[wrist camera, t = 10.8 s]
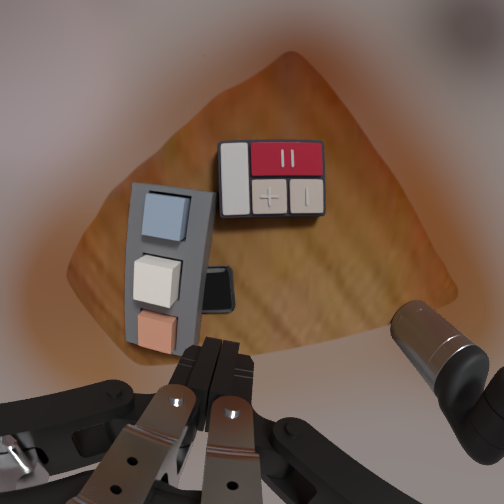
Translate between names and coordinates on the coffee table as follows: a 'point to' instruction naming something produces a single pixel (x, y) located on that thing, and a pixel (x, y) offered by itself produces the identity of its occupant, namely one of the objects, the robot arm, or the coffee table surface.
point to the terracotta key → (157, 331)
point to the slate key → (166, 216)
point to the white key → (156, 280)
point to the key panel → (186, 251)
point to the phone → (218, 290)
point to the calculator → (271, 178)
